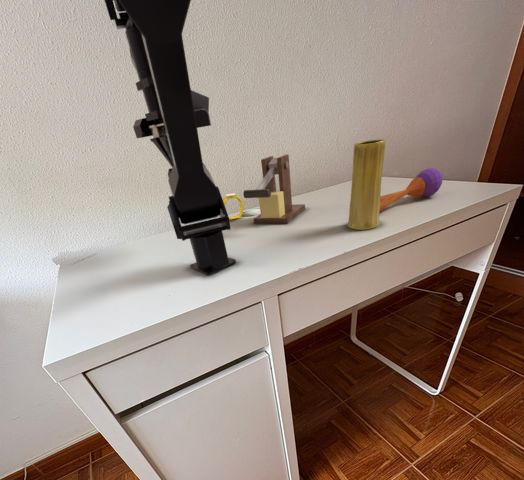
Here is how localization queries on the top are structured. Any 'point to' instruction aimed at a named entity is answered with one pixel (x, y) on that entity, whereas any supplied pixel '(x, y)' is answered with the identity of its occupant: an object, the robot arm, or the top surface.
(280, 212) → the butter
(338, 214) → the top surface
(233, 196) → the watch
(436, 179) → the maraca
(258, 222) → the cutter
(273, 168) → the angled grey lever
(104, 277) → the top surface
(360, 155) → the vase
